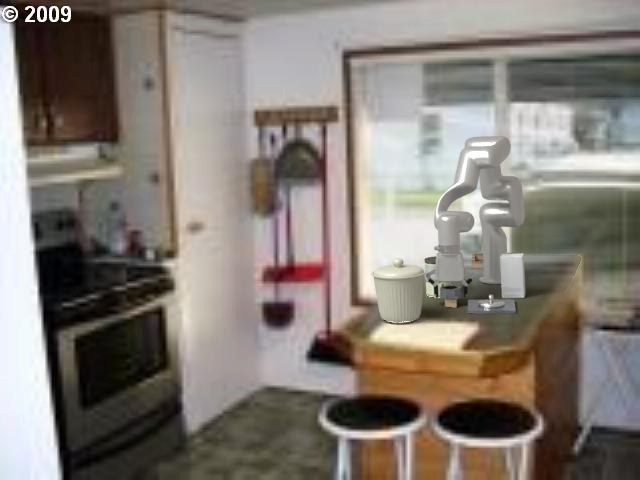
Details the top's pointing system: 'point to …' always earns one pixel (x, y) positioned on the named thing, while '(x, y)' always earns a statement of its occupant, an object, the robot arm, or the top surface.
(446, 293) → the plate ring
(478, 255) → the dish frame
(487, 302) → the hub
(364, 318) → the top surface
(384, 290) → the canister
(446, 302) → the stand
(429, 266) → the coffee can
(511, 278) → the skincare box
